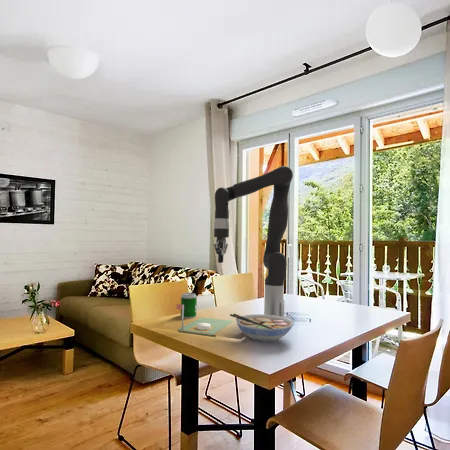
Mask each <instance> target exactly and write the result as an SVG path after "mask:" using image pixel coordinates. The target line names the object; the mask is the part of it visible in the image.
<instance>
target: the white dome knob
mask: <svg viewBox="0 0 450 450" xmlns="http://www.w3.org/2000/svg"><path fill="white" fill-rule="evenodd" d="M196 329H197V330H198V331H206V330H207V331H209V330H211V329H212V327H211V324H209V323H198V324H197V325H196Z"/></svg>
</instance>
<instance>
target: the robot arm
mask: <svg viewBox="0 0 450 450" xmlns="http://www.w3.org/2000/svg"><path fill="white" fill-rule="evenodd" d="M293 177H294V173H293V170H292V169H291V168H290V167H288V166H287V165H282V166H279V167H277V168H275V169H272V170H271V171H269V172H267V173H264V174H262V175H260V176H257V177H253V178H250V179H246V180H243V181H240V182H237V183H234V184H232V186H228V187H223V186H222V187H218V188H217V189H216V190H215V193H214V206H215V212H214V223H213V224H214V225H213V238H216V241H215V243H214V245H213V246H214V250H215V253H216V255H217V256H218V257H217V263H219V264H221V263H224V255H225V254H226V252H227V249H228V246H229V245H228V243H227V239H228V238H229V237H230V210H229V202H231V201H233V200H235V199H238V198H242V197H245V196H247V195H251V194H254V193H256V192H258V191H260V190H262V189H264V188H268V187H271V186H273V195H272V196H273V197H272V199H271V204H270V208H269V212H268V215H269V216H268V225H267V235H266V236H267V237H266V243H265V249H264V252H263V257H262V263H263V265H264V267H265V268H266V269H267V276H266V277H265V279H264V299H263V301H264V303H263V306H264V307H263V310H264V311H263V315H274V316H280V317H285V300H284V296H285V293H284V291H285V289H284V288H285V287H284V286H285V280H286V275H287V258H286V256H285V255H284V253H282V252H280V248H281V242H282V239H283V237H284V235H285V232H286V231H287V227H288V221H289V201H288V200H289V198H288V197H289V192H290V186H291V182H292V180H293ZM226 238H227V239H226Z"/></svg>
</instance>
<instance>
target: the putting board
mask: <svg viewBox="0 0 450 450" xmlns="http://www.w3.org/2000/svg"><path fill="white" fill-rule="evenodd" d="M176 310H180V311H181V310H182V317H181V327H179V328H178V329H177V333H182V334H188V335H197V336H203V337H210V338H215V337H216V336H217V335H215V334H217V333H218V332H219V331H221V330H223V329H224V328H226V327H227V326H229V325H231V324H232V323H233V322H234V320H228V319H222V318H220V319H219V318H211V317H201V318H198V319H195V321H192V322H190V323H187V324H185V325H184V319H185V318H184V305H181V303H180V304H179V303H176ZM198 323H209V324H211V329H208V330H207V331H205V330H198V329H197V330H195V329H192V328H194V327H195V326H196V327H197V324H198Z"/></svg>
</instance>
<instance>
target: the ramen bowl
mask: <svg viewBox="0 0 450 450" xmlns="http://www.w3.org/2000/svg"><path fill="white" fill-rule="evenodd" d="M229 316H230V317H233V318H235V322H236V324H237V326H238V328H239V330H240V331H241V332H242V333H243V334H244V335H245V336H247V337H248V338H250V339H254V340H255V341H257V342H260V343H271V342H273V341H275V340H279V339H282V338H283V337H285V336H286V335H287V334H288V333H290V331H291V329H292V327H293V326H294V321H293V320H292V319H289V318H288V317H285V316H284V317H280V316H274V315H264V314H259V313H258V314H257V313H256V314H246V315H239V314H236V313H233V314H232V313H230V314H229Z"/></svg>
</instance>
